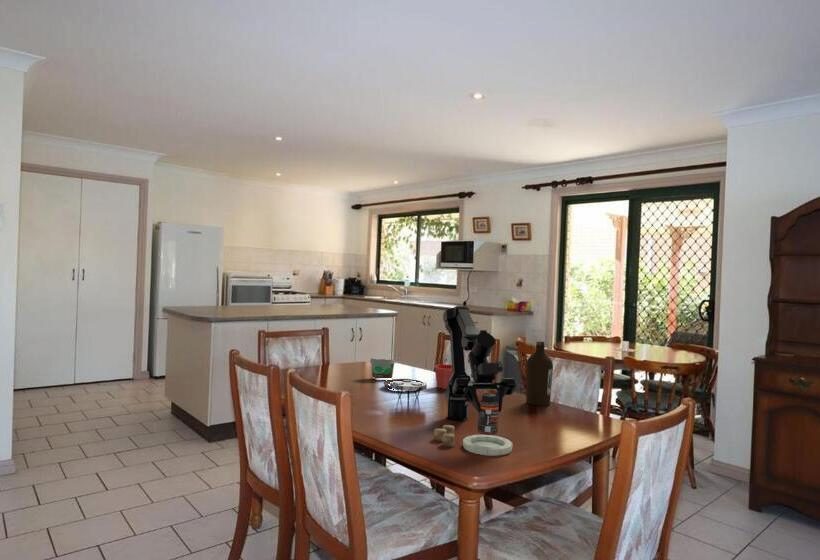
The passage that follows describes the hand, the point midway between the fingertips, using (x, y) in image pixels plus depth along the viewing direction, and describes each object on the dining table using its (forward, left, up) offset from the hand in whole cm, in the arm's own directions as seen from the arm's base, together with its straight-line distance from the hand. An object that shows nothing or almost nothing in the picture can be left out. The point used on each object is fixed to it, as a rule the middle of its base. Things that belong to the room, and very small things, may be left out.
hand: (489, 411), depth 159 cm
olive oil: (+3, +67, -11) cm, 68 cm away
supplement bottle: (-1, +1, -7) cm, 7 cm away
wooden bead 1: (-16, +2, -11) cm, 19 cm away
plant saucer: (-55, +65, -11) cm, 86 cm away
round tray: (-1, +1, -11) cm, 11 cm away
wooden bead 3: (-12, -2, -11) cm, 16 cm away
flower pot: (-39, +77, -11) cm, 87 cm away
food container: (-72, +78, -11) cm, 106 cm away
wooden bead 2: (-15, +7, -11) cm, 20 cm away
